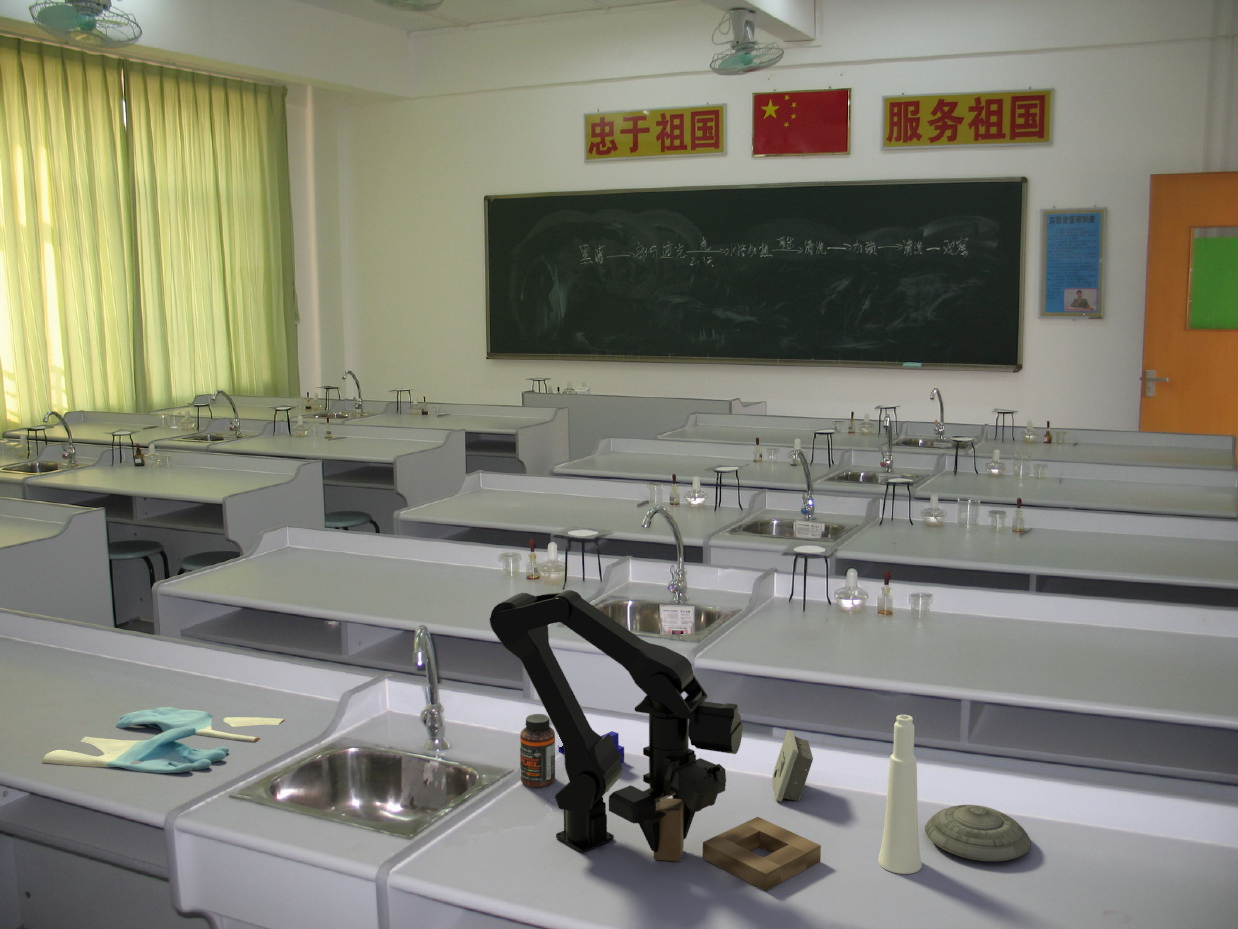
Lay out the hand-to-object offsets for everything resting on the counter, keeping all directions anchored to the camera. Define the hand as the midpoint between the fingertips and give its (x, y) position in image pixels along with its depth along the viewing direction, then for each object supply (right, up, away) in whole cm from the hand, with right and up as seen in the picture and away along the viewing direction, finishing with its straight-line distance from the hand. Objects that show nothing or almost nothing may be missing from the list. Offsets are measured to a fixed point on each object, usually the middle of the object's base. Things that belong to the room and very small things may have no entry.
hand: (668, 844), depth 155 cm
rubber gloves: (-92, +3, +44) cm, 102 cm away
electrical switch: (+21, +1, +21) cm, 30 cm away
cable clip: (-12, +3, +35) cm, 38 cm away
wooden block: (0, -2, 0) cm, 2 cm away
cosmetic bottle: (+33, -2, -3) cm, 33 cm away
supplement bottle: (-21, +1, +25) cm, 33 cm away
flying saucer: (+46, -1, +4) cm, 46 cm away
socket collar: (+13, -2, -1) cm, 14 cm away
